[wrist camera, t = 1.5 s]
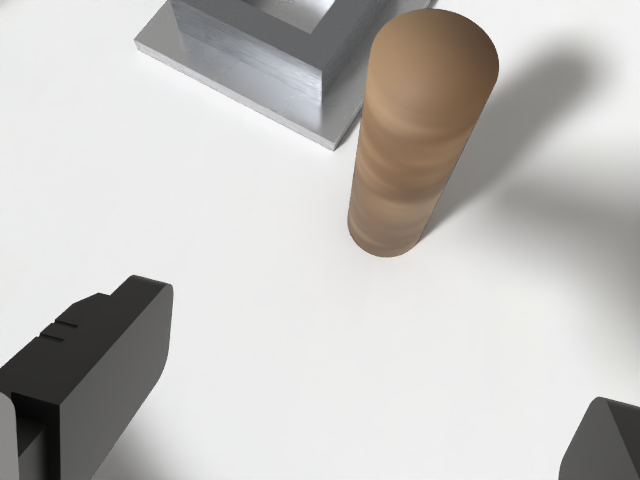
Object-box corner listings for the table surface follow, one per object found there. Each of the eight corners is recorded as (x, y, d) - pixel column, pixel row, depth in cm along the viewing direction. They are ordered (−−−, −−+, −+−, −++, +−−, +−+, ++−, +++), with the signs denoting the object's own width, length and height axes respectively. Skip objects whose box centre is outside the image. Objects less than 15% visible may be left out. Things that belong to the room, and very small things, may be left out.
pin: (333, 234, 27) (346, 78, 16) (370, 174, 28) (406, -10, 17) (401, 271, 26) (464, 137, 15) (436, 209, 28) (519, 41, 16)
